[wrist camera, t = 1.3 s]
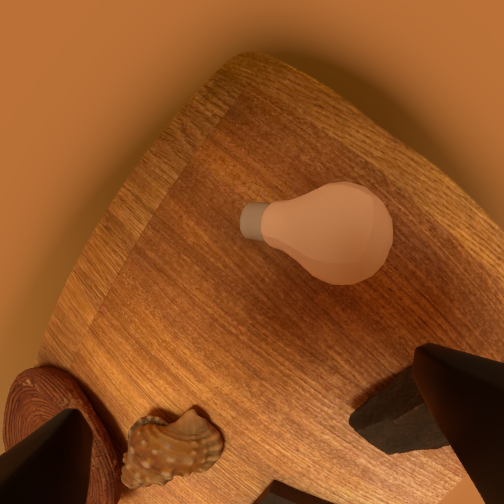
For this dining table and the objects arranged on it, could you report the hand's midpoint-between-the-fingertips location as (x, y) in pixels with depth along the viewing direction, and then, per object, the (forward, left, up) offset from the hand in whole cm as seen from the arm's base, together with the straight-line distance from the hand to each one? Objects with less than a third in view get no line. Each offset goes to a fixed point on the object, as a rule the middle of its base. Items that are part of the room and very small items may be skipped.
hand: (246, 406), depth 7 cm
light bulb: (+1, -5, -17) cm, 18 cm away
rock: (-12, +6, -17) cm, 22 cm away
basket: (+23, +27, -9) cm, 36 cm away
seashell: (+8, +19, -17) cm, 27 cm away
